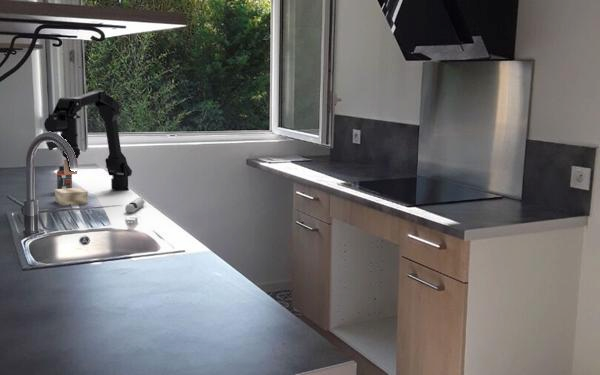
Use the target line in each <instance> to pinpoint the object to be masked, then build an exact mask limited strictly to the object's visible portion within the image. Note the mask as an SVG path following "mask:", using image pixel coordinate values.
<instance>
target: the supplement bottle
mask: <svg viewBox="0 0 600 375" xmlns="http://www.w3.org/2000/svg"><path fill="white" fill-rule="evenodd" d="M58 168H59V169H58V170H57V171H56V186H57V188H56V189H66V188H73V174H64V164H59V165H58Z"/></svg>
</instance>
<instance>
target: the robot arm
mask: <svg viewBox="0 0 600 375" xmlns="http://www.w3.org/2000/svg"><path fill="white" fill-rule="evenodd" d="M91 104H93V106H94V107H95V108H96V109H97V111H98V114H99V116H100V118H101V119H102V121H104V127H105V134H106V139H107V140H106V141H107V146H108V156H107V158H105V168H107V173H108V176H112V178H110V187H111V189H112V190H113V191H129V190H130V189H129V177H131V176H132V175H133V170H132V169H131V167H130V166H129V164H128V161H127V158H126V156H125V155H124V154H123V152H122V148H121V140H120V135H119V127H118V117H119V116H120V104H119V102H118V101H117V100H116V99H115V98H113V97H112V96H110V95H108V94H106V92H105V91H103V90H91V91H90V92H89V91H88V92H86V93H84V94H80V95H78V96H77V95H76V96H74V97H72V96H69V97H68V96H66V97H65V96H64V97H60V98H58V100H57V102H56V105H55V107H54V109H53V112H52V113H49V114H48V117H47V118H46V119H45V121H44V123H43V124H44V129H45V131H47V132H48V133H51V132H52V133H59V132H60V134H59V136H60V135H61V136H62V137H63V138H64V139H66V140H67V142H68V143H69V144H70V145H71V147H72V148H73V150H74V152H75V155H76V158H77V160H78V159H79V156H80V155H81V149H80V148H79V144H78V123H77V119H80V118H81V116H80V115H79V114H77V113H78V112H80V111H81V110H82V108H83V107H86V106H88V105H91ZM49 131H51V132H49ZM45 144H46V146H47V148H48V150H49V151H52V150H54V149H56V148H59V147H58V146H57V145H56V144H55V143H53V142H47V141H45ZM59 151H60V153H61V155H62V156H63V157H64V159H65V160H67V163H68V168H69V171H70V172H72V171H71V170H70V167H69V161H68V158H67V155H66V154H65V153H64V151H63V150H61V149H60V148H59Z"/></svg>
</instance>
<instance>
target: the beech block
mask: <svg viewBox="0 0 600 375" xmlns="http://www.w3.org/2000/svg"><path fill="white" fill-rule="evenodd" d="M88 197H89V193H88V191H87V190H85V189H84V188H82V187H72V188H66V189H57V188H56V189H54V201H55V202H56V203H57V202H58V203H59V204H58V203H57V204H58V205H60V204H61V205H63V206H70V205H69V204H75V205H85V204H89V198H88ZM61 205H60V206H61Z"/></svg>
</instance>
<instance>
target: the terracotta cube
mask: <svg viewBox="0 0 600 375" xmlns="http://www.w3.org/2000/svg"><path fill="white" fill-rule="evenodd" d="M63 165H64V174H72V175H77V174H78V170H77V171H75V172H74V171H72V172H70V171H69V168H68V163H67V160H66V159H63Z"/></svg>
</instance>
